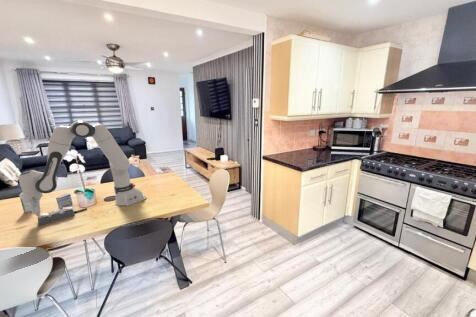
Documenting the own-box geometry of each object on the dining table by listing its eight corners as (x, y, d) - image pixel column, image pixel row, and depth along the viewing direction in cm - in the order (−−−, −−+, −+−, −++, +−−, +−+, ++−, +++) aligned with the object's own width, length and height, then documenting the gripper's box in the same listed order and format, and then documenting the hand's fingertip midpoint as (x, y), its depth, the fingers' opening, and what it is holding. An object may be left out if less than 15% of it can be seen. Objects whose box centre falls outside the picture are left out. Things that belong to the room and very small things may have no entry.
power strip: (85, 207, 168) (84, 202, 167) (87, 211, 163) (86, 206, 162) (38, 220, 151) (37, 215, 150) (39, 225, 145) (37, 219, 144)
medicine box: (62, 208, 167) (59, 198, 165) (58, 208, 169) (55, 197, 166) (72, 204, 174) (70, 194, 172) (69, 203, 176) (66, 193, 173)
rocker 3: (71, 208, 159) (71, 206, 159) (72, 210, 157) (72, 208, 157) (62, 209, 156) (62, 207, 156) (63, 211, 153) (63, 209, 153)
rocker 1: (48, 215, 151) (48, 212, 151) (48, 217, 148) (48, 214, 148) (37, 216, 147) (38, 213, 147) (38, 218, 145) (38, 215, 145)
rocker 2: (60, 210, 155) (59, 208, 154) (61, 212, 152) (59, 210, 152) (51, 214, 152) (50, 212, 151) (52, 216, 150) (50, 214, 149)
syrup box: (27, 209, 167) (22, 191, 163) (37, 207, 169) (32, 190, 165) (23, 212, 162) (18, 194, 158) (34, 211, 164) (29, 192, 160)
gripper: (40, 199, 137) (45, 219, 141) (39, 189, 151) (43, 207, 155) (26, 202, 133) (32, 222, 136) (26, 192, 147) (31, 210, 151)
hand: (38, 214), depth 146 cm, fingers closed, pressing on rocker 1
